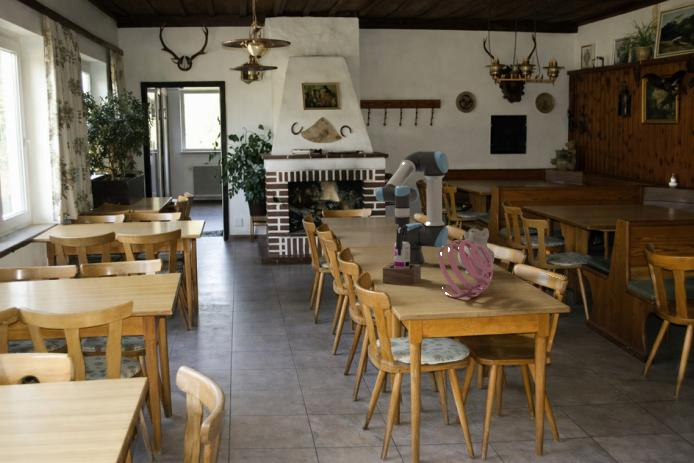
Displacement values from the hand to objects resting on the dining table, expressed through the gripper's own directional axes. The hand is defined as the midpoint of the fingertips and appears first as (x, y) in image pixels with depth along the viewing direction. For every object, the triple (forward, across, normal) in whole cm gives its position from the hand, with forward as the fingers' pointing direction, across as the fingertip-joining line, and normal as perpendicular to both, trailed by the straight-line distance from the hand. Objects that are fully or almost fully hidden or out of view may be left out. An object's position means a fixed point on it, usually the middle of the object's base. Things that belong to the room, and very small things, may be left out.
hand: (402, 260), depth 392 cm
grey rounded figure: (+11, -31, +33) cm, 47 cm away
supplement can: (+6, 0, 0) cm, 6 cm away
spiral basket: (+11, +26, +37) cm, 47 cm away
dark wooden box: (+11, 0, 0) cm, 11 cm away
